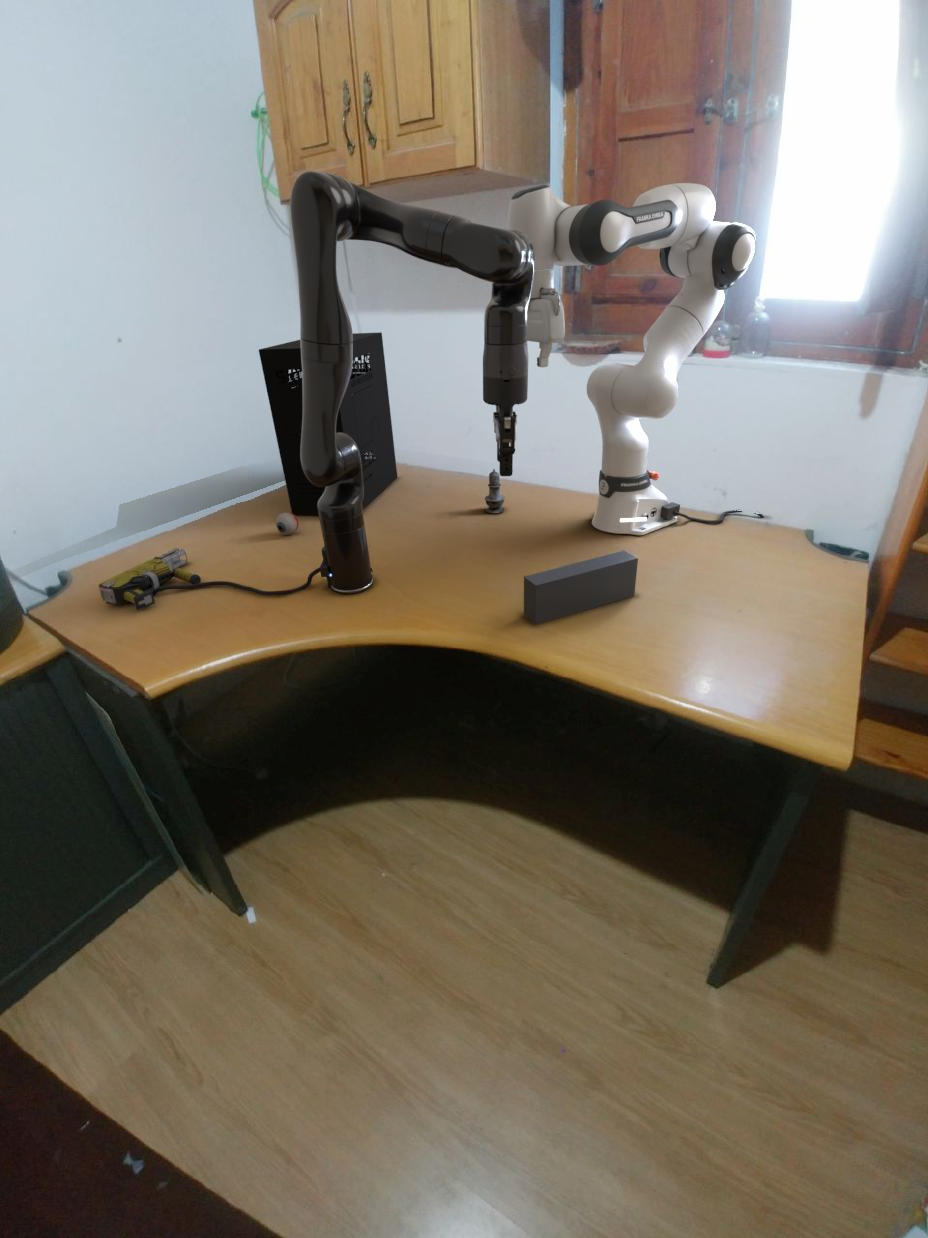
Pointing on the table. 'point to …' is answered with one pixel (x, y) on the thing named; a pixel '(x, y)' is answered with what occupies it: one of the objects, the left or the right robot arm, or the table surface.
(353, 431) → the cardboard box
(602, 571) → the bar
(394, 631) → the table surface
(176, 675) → the table surface
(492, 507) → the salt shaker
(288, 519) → the eyeball
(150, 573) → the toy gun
